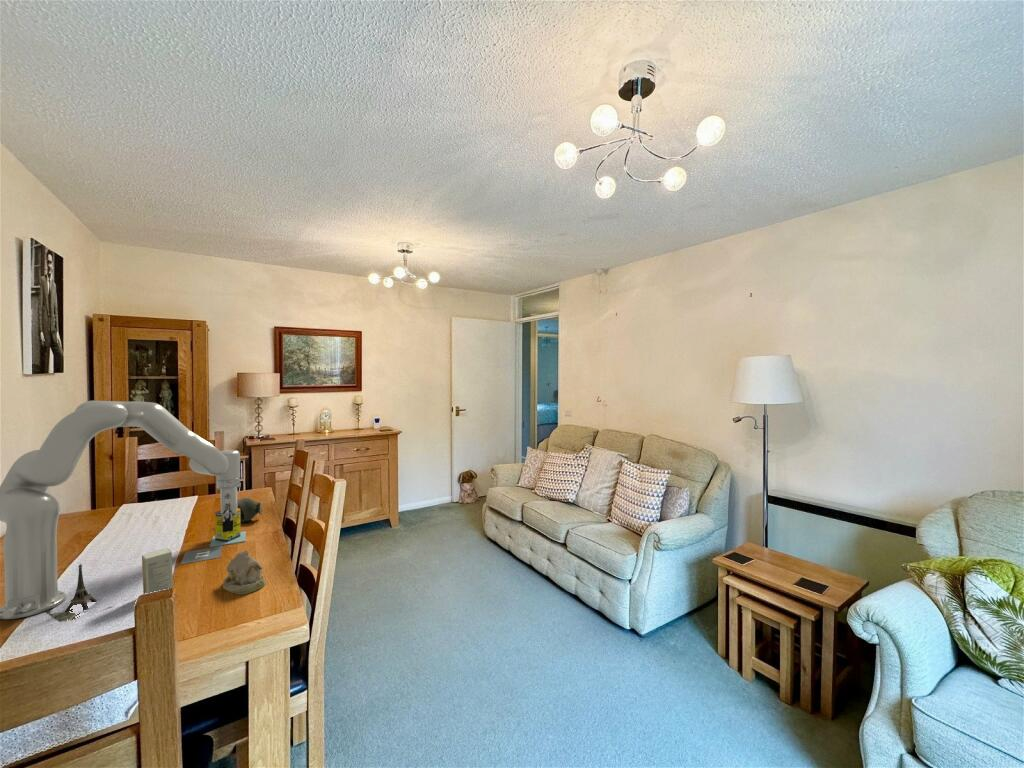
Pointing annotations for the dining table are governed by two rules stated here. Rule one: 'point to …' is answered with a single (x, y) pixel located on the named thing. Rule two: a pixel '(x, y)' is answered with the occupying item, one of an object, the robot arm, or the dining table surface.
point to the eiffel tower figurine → (74, 601)
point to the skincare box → (157, 571)
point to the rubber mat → (236, 540)
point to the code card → (202, 555)
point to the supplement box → (230, 534)
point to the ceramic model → (243, 575)
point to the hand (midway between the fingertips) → (228, 527)
